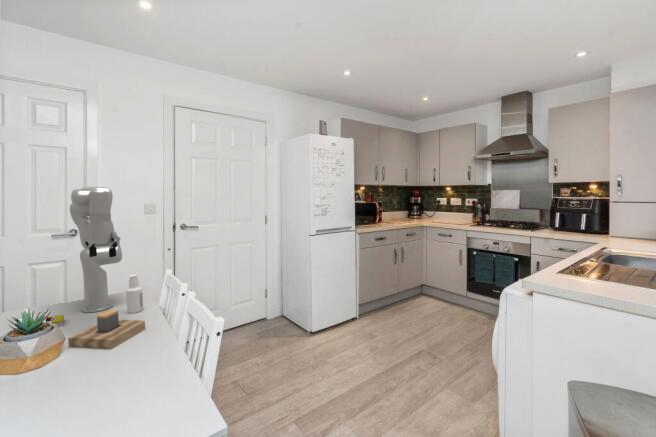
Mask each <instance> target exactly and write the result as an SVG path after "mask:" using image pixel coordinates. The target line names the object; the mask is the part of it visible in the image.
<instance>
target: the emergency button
mask: <svg viewBox="0 0 656 437" xmlns="http://www.w3.org/2000/svg"><path fill="white" fill-rule="evenodd" d="M46 317H47V318H46V322H47V321H50V320H51V319H54V318H57V319H56V320H54V321H52V322H51V323H52V324H56V325H57V326H58V327H57V328H62V327H65V326H66V325H67V326H69V325H70V321H71V318H65V316H64V314H60V315H53V316H46ZM61 326H62V327H61ZM67 326H66V327H67Z"/></svg>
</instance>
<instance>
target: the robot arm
mask: <svg viewBox="0 0 656 437" xmlns="http://www.w3.org/2000/svg"><path fill="white" fill-rule="evenodd" d="M113 198H114V197H113V191H112V190H111V189H110V188H109V187H107V186H85V187H81V188H77V189H73V190H72V191H71V194H70V199H71V202H72V203H70V206H69V214H70V217H71V219H72V222H74V224H75V226H76V227H77V229H78V233H79V234H78V235H79V239H80V244H81V246H82V247H83V248H84V249H82V250H81V251H80V253H79V259H80V264H81V269H82V274H83V288H84V290H83V291H84V302H85V303H84V304H85V305H84V306H83V307H82V308H81V311H82V312H83V313H97V312H102V311H105V310H108V309H110V308H112V307H113V303H112V302H111V301H110V302H109V291H108V290H109V289H108V275H107V272H106V270H104V268H102V267H101V266H103V265H113V264H118V263H120V262H121V261H122V259H123V252H122V248H121V247H122V246H121V243H120V242H121V237H120V236H119V235H118V234H117V232H116V231H115V227H114V223H113V221H112V214H111V209H112V204H113Z"/></svg>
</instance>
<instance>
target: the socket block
mask: <svg viewBox="0 0 656 437" xmlns="http://www.w3.org/2000/svg"><path fill="white" fill-rule="evenodd" d="M144 330H146V321H145V320H132V319H119V327H118V328H116V329H114V330H112V331H110V332H108V333H98V326H97V323H96V324H93V325H92V326H90V327H87V328H85V329H83V330H80V331H79V332H77V333H75V334H73V335H70V336H68V337H67V341H68V344H67V346H68V348H70V347H71V348H86V349H87V348H89V349H108V350H112V349H114V348H115V347H117V346H118V345H121V344H122V343H124V342H125V341H127V340H129V339H131V338H132V337H134V336H135V335H137V334H139V333H140V332H143V331H144Z"/></svg>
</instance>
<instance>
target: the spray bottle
mask: <svg viewBox="0 0 656 437" xmlns="http://www.w3.org/2000/svg"><path fill="white" fill-rule="evenodd" d="M128 278H129V280H128V288H127V289H126V290H125V295H126V296H125V297H126V312H127V313H129V314H135V313H139V312H140V313H141V312H142V311H143V310H144V301H143V300H144V299H143V298H144V297H143V288H142V287H141V286H139V278H138V274H130V275H129V277H128Z"/></svg>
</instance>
